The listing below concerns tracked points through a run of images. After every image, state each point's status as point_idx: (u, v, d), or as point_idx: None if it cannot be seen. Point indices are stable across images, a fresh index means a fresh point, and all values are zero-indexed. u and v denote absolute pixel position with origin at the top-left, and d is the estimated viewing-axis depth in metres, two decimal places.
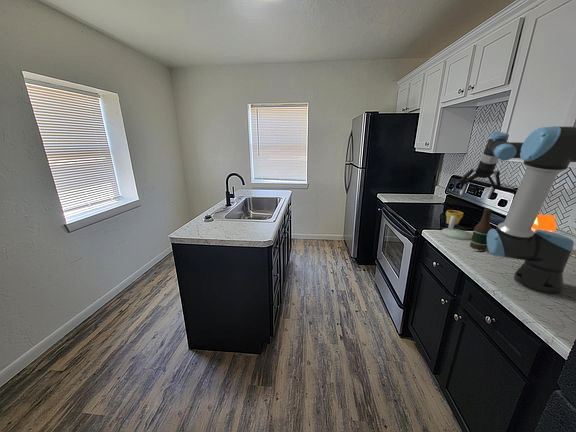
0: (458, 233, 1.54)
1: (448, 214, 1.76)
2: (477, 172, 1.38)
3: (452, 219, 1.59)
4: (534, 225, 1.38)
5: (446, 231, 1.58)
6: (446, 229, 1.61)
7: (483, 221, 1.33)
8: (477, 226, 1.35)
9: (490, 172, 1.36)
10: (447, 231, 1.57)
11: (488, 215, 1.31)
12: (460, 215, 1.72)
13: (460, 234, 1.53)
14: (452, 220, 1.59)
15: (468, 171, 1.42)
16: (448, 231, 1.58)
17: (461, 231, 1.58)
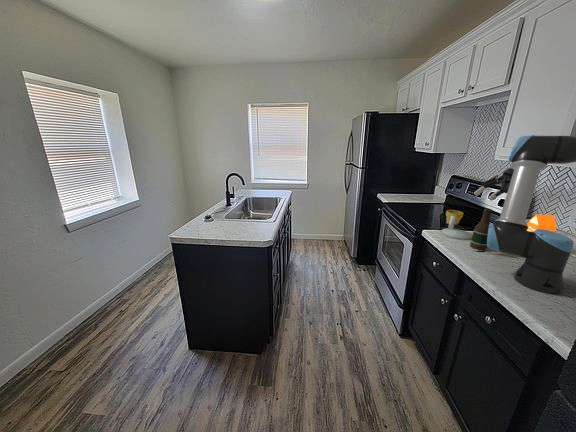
0: (458, 233, 1.54)
1: (448, 214, 1.76)
2: (499, 177, 1.51)
3: (452, 219, 1.59)
4: (534, 225, 1.38)
5: (446, 231, 1.58)
6: (446, 229, 1.61)
7: (483, 221, 1.33)
8: (477, 226, 1.35)
9: (508, 177, 1.46)
10: (447, 231, 1.57)
11: (488, 215, 1.31)
12: (460, 215, 1.72)
13: (460, 234, 1.53)
14: (452, 220, 1.59)
15: None
16: (448, 231, 1.58)
17: (461, 231, 1.58)
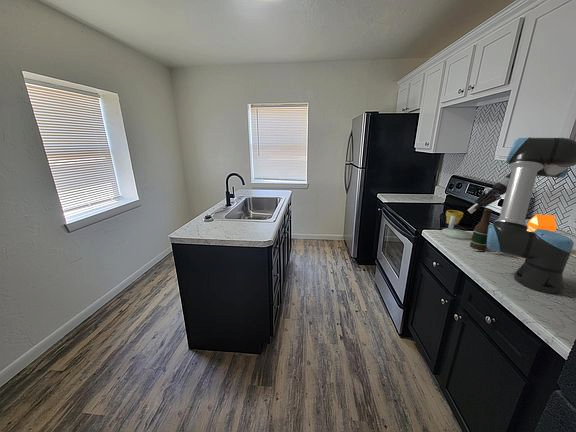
0: (458, 233, 1.54)
1: (448, 214, 1.76)
2: (489, 191, 1.56)
3: (452, 219, 1.59)
4: (534, 225, 1.38)
5: (446, 231, 1.58)
6: (446, 229, 1.61)
7: (483, 221, 1.33)
8: (477, 226, 1.35)
9: (497, 192, 1.50)
10: (447, 231, 1.57)
11: (488, 215, 1.31)
12: (460, 215, 1.72)
13: (460, 234, 1.53)
14: (452, 220, 1.59)
15: None
16: (448, 231, 1.58)
17: (461, 231, 1.58)
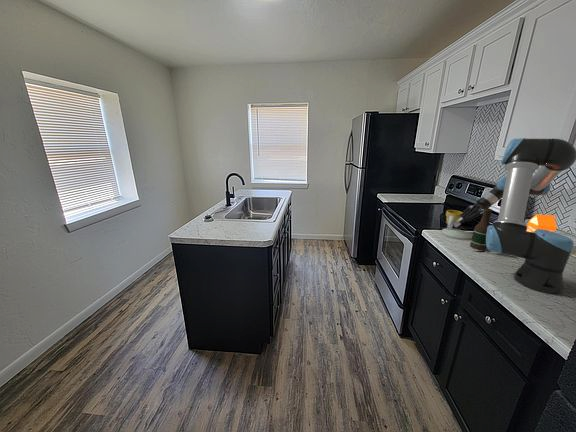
0: (458, 233, 1.54)
1: (448, 214, 1.76)
2: (473, 205, 1.59)
3: (451, 219, 1.59)
4: (534, 225, 1.38)
5: (446, 231, 1.57)
6: (445, 229, 1.61)
7: (483, 221, 1.33)
8: (477, 226, 1.35)
9: (481, 206, 1.53)
10: (447, 231, 1.57)
11: (488, 215, 1.31)
12: None
13: (460, 234, 1.53)
14: (451, 220, 1.59)
15: None
16: (448, 231, 1.57)
17: (460, 231, 1.59)
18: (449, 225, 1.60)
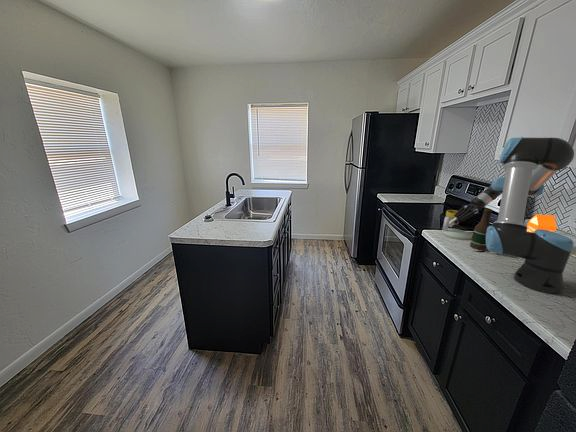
0: (459, 233, 1.55)
1: (448, 214, 1.76)
2: (468, 205, 1.59)
3: (448, 220, 1.56)
4: (534, 225, 1.38)
5: (452, 234, 1.53)
6: (445, 232, 1.57)
7: (483, 221, 1.33)
8: (477, 226, 1.35)
9: (475, 206, 1.53)
10: (452, 234, 1.53)
11: (488, 215, 1.31)
12: None
13: (461, 233, 1.55)
14: (448, 221, 1.56)
15: None
16: (452, 234, 1.54)
17: (452, 229, 1.61)
18: (446, 227, 1.57)
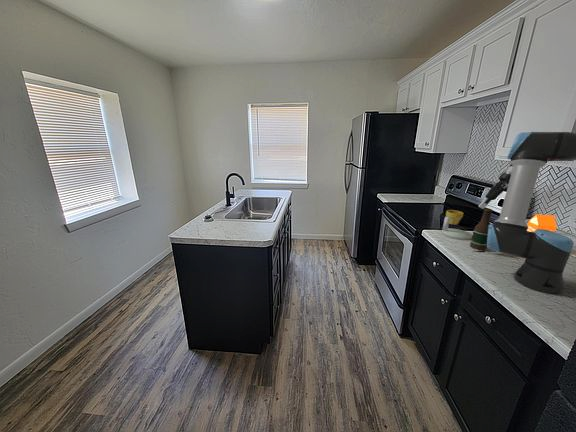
0: (459, 233, 1.55)
1: (448, 214, 1.76)
2: None
3: (448, 220, 1.56)
4: (534, 225, 1.38)
5: (452, 234, 1.53)
6: (445, 232, 1.57)
7: (483, 221, 1.33)
8: (477, 226, 1.35)
9: (504, 181, 1.45)
10: (452, 234, 1.53)
11: (488, 215, 1.31)
12: (460, 215, 1.72)
13: (461, 233, 1.55)
14: (448, 221, 1.56)
15: None
16: (452, 234, 1.54)
17: (452, 229, 1.61)
18: (446, 227, 1.57)
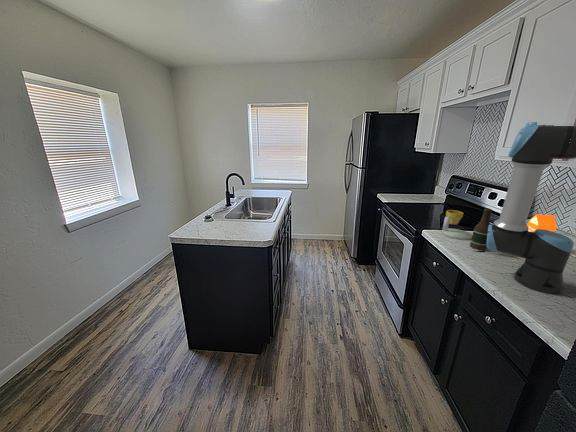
0: (459, 233, 1.55)
1: (448, 214, 1.76)
2: None
3: (448, 220, 1.56)
4: (534, 225, 1.38)
5: (452, 234, 1.53)
6: (445, 232, 1.57)
7: (483, 221, 1.33)
8: (477, 226, 1.35)
9: None
10: (452, 234, 1.53)
11: (488, 215, 1.31)
12: (460, 215, 1.72)
13: (461, 233, 1.55)
14: (448, 221, 1.56)
15: None
16: (452, 234, 1.54)
17: (452, 229, 1.61)
18: (446, 227, 1.57)
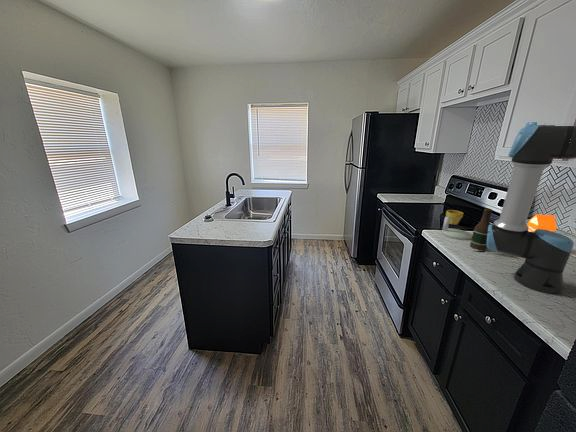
0: (459, 233, 1.55)
1: (448, 214, 1.76)
2: None
3: (448, 220, 1.56)
4: (534, 225, 1.38)
5: (452, 234, 1.53)
6: (445, 232, 1.57)
7: (483, 221, 1.33)
8: (477, 226, 1.35)
9: None
10: (452, 234, 1.53)
11: (488, 215, 1.31)
12: (460, 215, 1.72)
13: (461, 233, 1.55)
14: (448, 221, 1.56)
15: None
16: (452, 234, 1.54)
17: (452, 229, 1.61)
18: (446, 227, 1.57)
